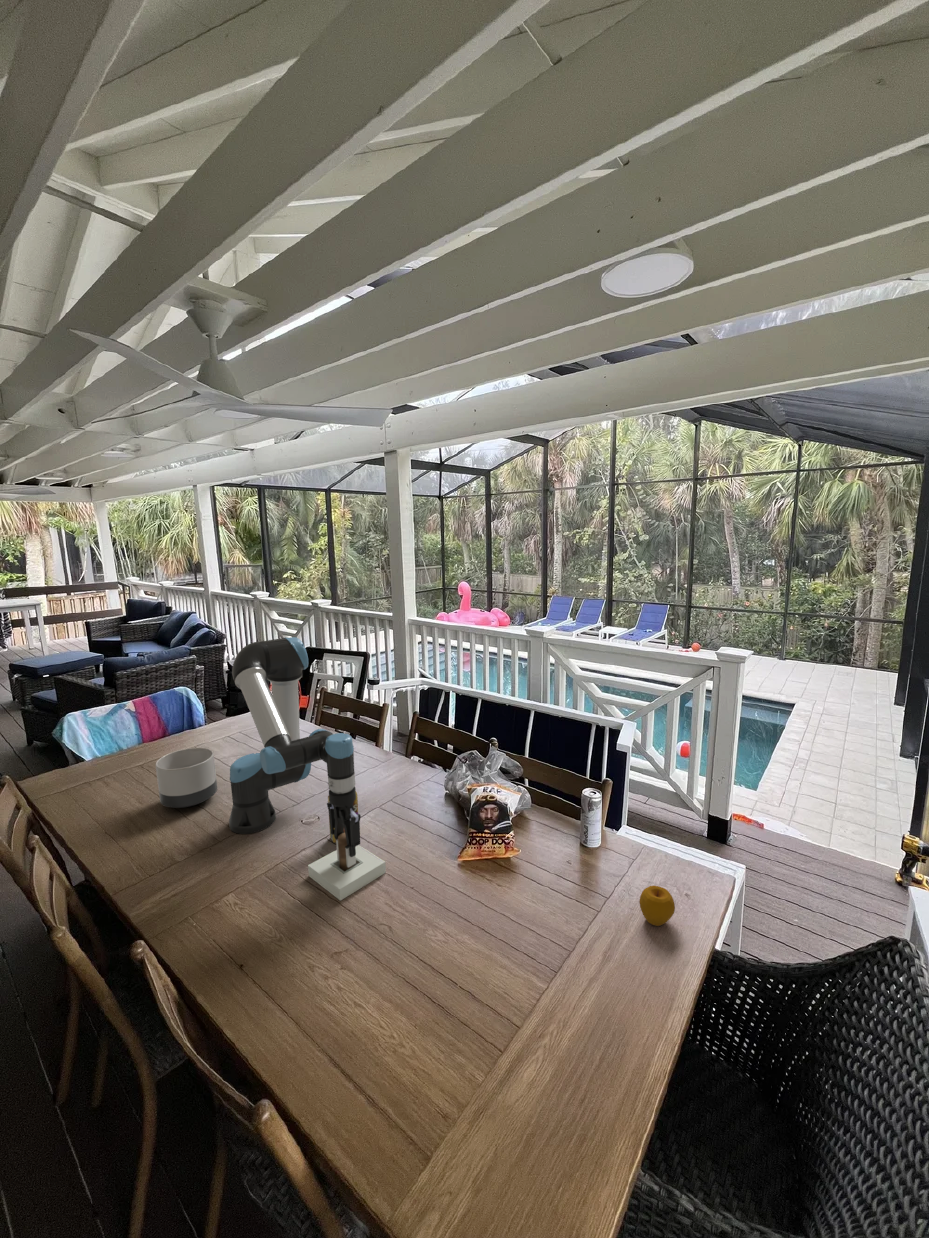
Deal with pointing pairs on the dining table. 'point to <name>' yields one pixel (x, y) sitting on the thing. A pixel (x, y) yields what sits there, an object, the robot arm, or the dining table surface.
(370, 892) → the dining table surface
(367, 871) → the socket board
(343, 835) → the walnut peg
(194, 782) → the planter
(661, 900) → the apple
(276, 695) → the robot arm
